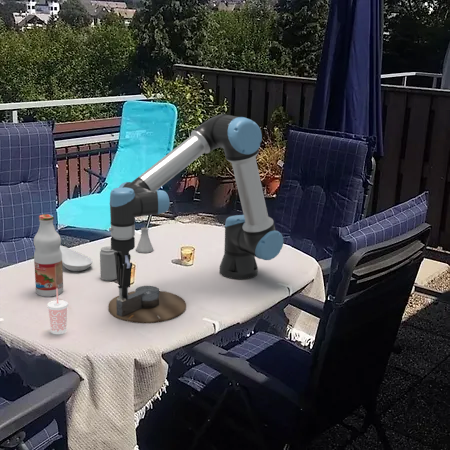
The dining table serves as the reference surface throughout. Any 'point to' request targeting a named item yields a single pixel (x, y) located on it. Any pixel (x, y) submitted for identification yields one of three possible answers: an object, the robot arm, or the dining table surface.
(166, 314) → the dial board
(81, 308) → the dining table surface
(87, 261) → the spoon rest
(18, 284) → the dining table surface
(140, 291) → the dial
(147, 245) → the flask
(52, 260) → the fruit juice
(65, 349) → the dining table surface
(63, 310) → the beverage cup
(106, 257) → the beverage can
